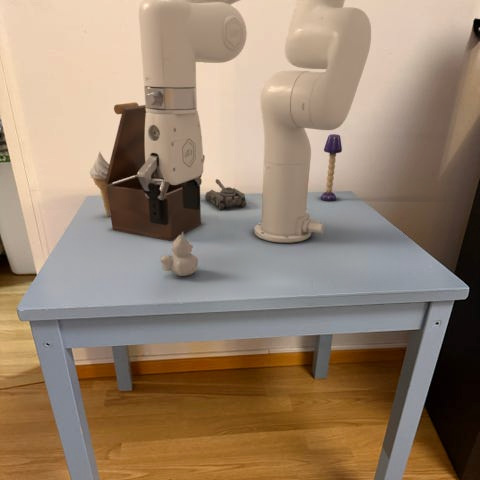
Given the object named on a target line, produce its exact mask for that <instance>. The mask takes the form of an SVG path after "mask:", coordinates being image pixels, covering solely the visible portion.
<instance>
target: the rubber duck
mask: <svg viewBox="0 0 480 480" xmlns="http://www.w3.org/2000/svg"><path fill="white" fill-rule="evenodd" d="M193 249H194V246H193V245H192V244H191V243H190V242H189V240H188V238H186V237H185V234H183V232H182V234H181V235H179V236H178V237H177V238H176V239H174V240H173V243H172V245H171V252H172V254H171V255H170V254H165V255H162V256H161V257H160V262H161V264H162V270H163V271H164V272H170V271H171V272H172V273H173V274H175V275H176V276H178V277H179V276H180V277H187V276H190V275H192V274H194V272H195V271H196V270H197V268H198V265H199V258H198V257H197V256H195V255H194V254H193V253H192V252H193V251H192V250H193Z"/></svg>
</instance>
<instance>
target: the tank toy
mask: <svg viewBox="0 0 480 480" xmlns="http://www.w3.org/2000/svg"><path fill="white" fill-rule="evenodd" d="M215 184H216V185H218V186H219V188H220V192H219V191H216V190H213V189H210V190H209V191H207V192H205V194H204V198H205V200H206V201H207V202H208V203H210V204H211V205H212V206H214V208H216V209H217V210H218V211H219V210H220V211H221V210H224V209H225V207H228V208H231V207H233V206H235V207H237V206H238V207H239V208H245V207H247V200H246V195H245V193H244V192H242V191H240V190H238V189H236V188H235V187H233V188H232V187H229V186H228V187H227V186H226V187H225V186H224V184H223V183H222V182H221V180H220V179H218V178H216V179H215Z"/></svg>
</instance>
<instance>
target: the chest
mask: <svg viewBox="0 0 480 480" xmlns="http://www.w3.org/2000/svg"><path fill="white" fill-rule="evenodd" d="M182 184H186V183H185V182H184V183H181V184H178V185H171V184H169V187H168V190H167V192H166V195H165V198H164V199H168V214H169V224H167V225H161V224H156V223H151V222H150V213H149V200H148V198H146V196H145V192H144V191H143V190H142V187H141V186H142V185H141V183H140V181H139V179H138V176H132V177H129V178H126V179H122V180H119V181H116V182H113V184H110V185H107V193H108V200H109V207H110V221H111V230H113V231H117V232H120V233H121V232H123V233H126V234H132V235H137V236H143V237H147V238H152V239H159V240H163V241H168V242H172V241H175V240H176V238H177V237H178V236H179V235H181V234H182V232H183V234H184V235H185V234H187V233H189V232H190V231H192V230H194V229H195V228H197V227H199V226H201V225H202V215H201V212H202V211H201V208H200V209H199V210H194V209H188V208H184V207H183V190H182ZM160 186H161V185H159V184H157V185H156V187H157V188H158V189H160ZM198 186H199V185H198Z"/></svg>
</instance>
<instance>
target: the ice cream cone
mask: <svg viewBox="0 0 480 480" xmlns="http://www.w3.org/2000/svg"><path fill="white" fill-rule="evenodd" d="M97 154H98V155H97V157H96V160H95V161H94V163H93V164H92V167H91V169H90V171H89V175H90V178H91V179H92V180H93V183H94V185H95V186H96V187H98V189H99V190H100V194H101V198H102V202H103V206H104V209H105V213H106V216H107V217H111V215H110V207H109V200H108V193H107V185H110V184H113V183H114V182H113V183H110V184H106V183H105V180H106V176H107V172H108V168H109V164H110V163H108V161H107V160H106V159H105V158H104V156H103V154H102V153H101V151H98V153H97Z"/></svg>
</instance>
